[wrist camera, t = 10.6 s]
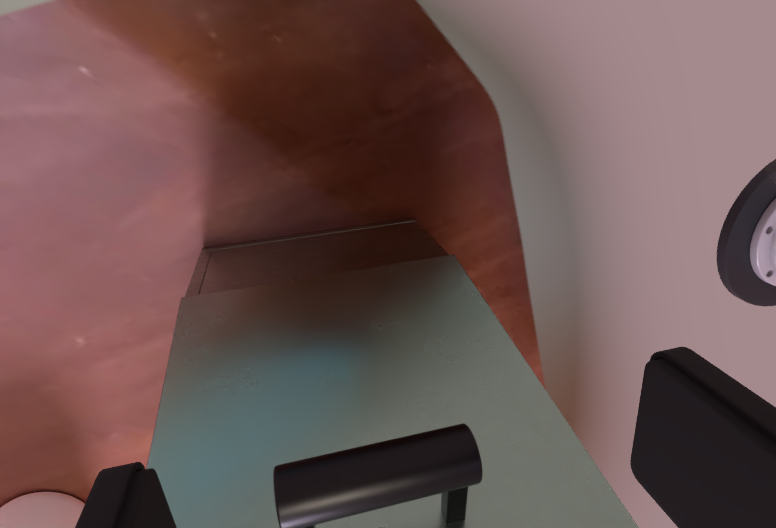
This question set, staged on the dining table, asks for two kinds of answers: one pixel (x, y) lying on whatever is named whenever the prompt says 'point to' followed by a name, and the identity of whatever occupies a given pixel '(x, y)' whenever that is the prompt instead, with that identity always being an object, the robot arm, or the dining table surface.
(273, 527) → the box lid
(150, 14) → the dining table surface
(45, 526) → the cup
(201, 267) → the open box
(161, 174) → the dining table surface
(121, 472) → the robot arm
